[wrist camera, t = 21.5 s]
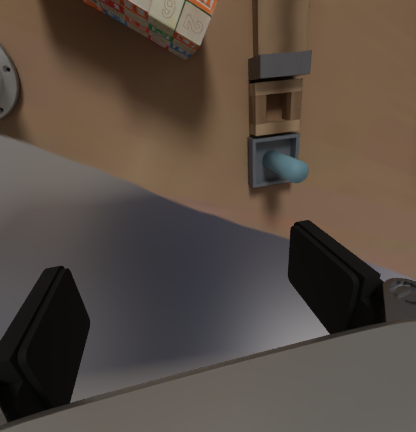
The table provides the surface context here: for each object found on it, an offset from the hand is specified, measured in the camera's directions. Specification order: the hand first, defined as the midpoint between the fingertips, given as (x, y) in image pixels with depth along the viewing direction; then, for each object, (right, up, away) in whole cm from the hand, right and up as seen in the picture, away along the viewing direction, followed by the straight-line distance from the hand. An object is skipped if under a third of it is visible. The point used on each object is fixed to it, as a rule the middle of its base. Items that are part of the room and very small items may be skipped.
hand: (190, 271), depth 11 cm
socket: (+12, +21, +34) cm, 42 cm away
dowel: (+13, +13, +37) cm, 41 cm away
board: (+11, +32, +29) cm, 45 cm away
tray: (+13, +13, +38) cm, 42 cm away
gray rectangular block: (+11, +27, +31) cm, 43 cm away
